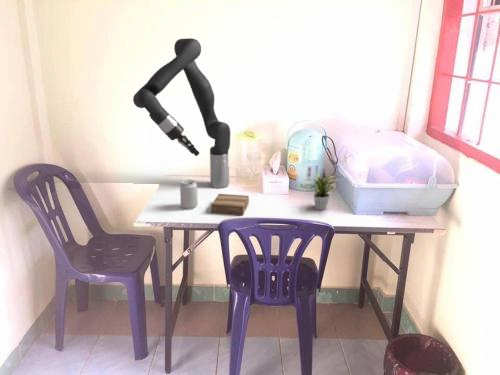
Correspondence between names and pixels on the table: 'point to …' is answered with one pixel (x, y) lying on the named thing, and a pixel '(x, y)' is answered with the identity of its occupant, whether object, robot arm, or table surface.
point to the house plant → (322, 191)
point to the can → (188, 194)
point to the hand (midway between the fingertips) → (195, 153)
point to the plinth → (230, 204)
